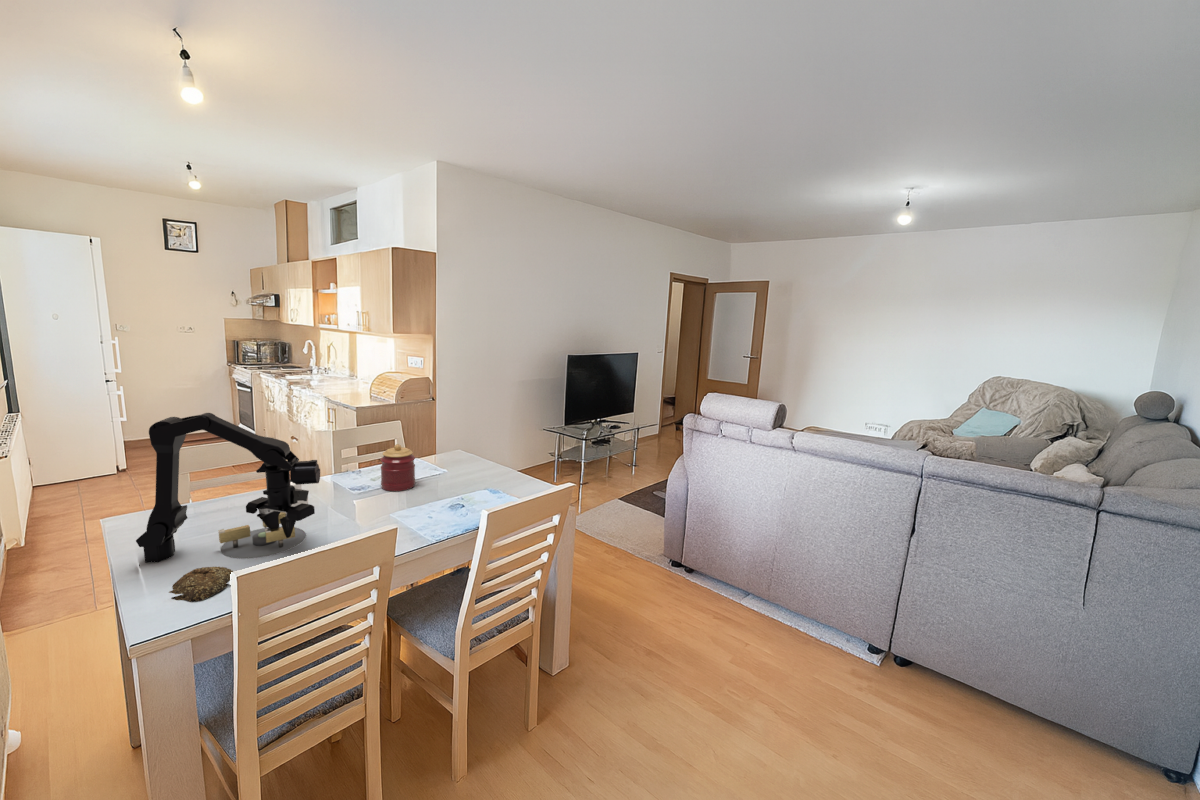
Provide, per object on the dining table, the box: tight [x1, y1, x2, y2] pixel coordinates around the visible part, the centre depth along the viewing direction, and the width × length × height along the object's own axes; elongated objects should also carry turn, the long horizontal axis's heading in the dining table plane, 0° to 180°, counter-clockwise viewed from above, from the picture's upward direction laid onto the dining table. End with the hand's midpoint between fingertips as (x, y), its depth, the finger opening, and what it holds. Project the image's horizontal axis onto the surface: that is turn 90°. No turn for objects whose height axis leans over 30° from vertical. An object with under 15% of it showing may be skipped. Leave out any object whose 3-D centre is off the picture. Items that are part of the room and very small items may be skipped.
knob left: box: [217, 524, 251, 548], centre depth 141 cm, size 2×7×6 cm, turn 137°
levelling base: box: [220, 525, 307, 560], centre depth 145 cm, size 21×21×4 cm
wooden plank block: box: [262, 512, 286, 528], centre depth 152 cm, size 2×7×6 cm, turn 142°
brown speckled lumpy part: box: [168, 566, 234, 603], centre depth 122 cm, size 13×12×5 cm
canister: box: [380, 443, 416, 492], centre depth 198 cm, size 13×13×18 cm
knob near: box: [265, 526, 296, 548], centre depth 142 cm, size 2×7×6 cm, turn 128°
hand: (282, 536), depth 143 cm, fingers closed on knob near, 4 cm apart
